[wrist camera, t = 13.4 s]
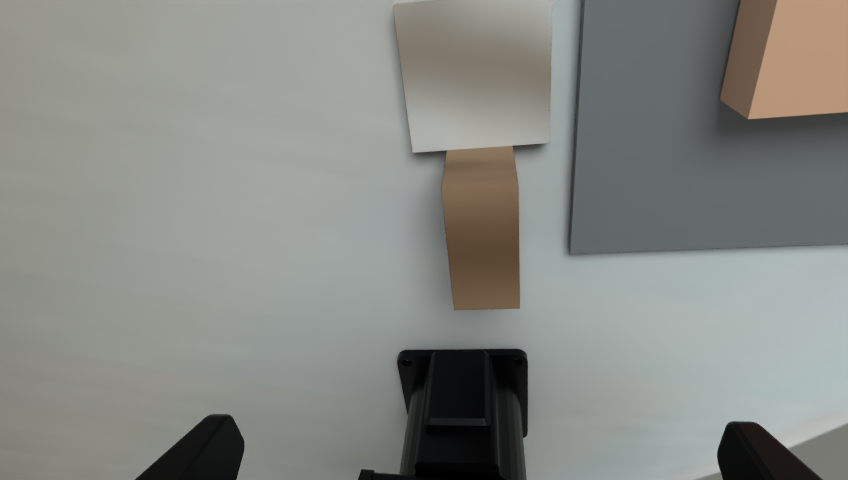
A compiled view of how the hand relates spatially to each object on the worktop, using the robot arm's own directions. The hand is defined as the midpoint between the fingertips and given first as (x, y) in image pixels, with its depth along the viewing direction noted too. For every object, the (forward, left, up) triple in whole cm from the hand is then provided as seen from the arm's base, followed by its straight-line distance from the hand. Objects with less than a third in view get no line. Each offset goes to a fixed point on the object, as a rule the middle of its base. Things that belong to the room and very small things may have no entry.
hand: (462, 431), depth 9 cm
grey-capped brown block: (+1, 0, -12) cm, 12 cm away
